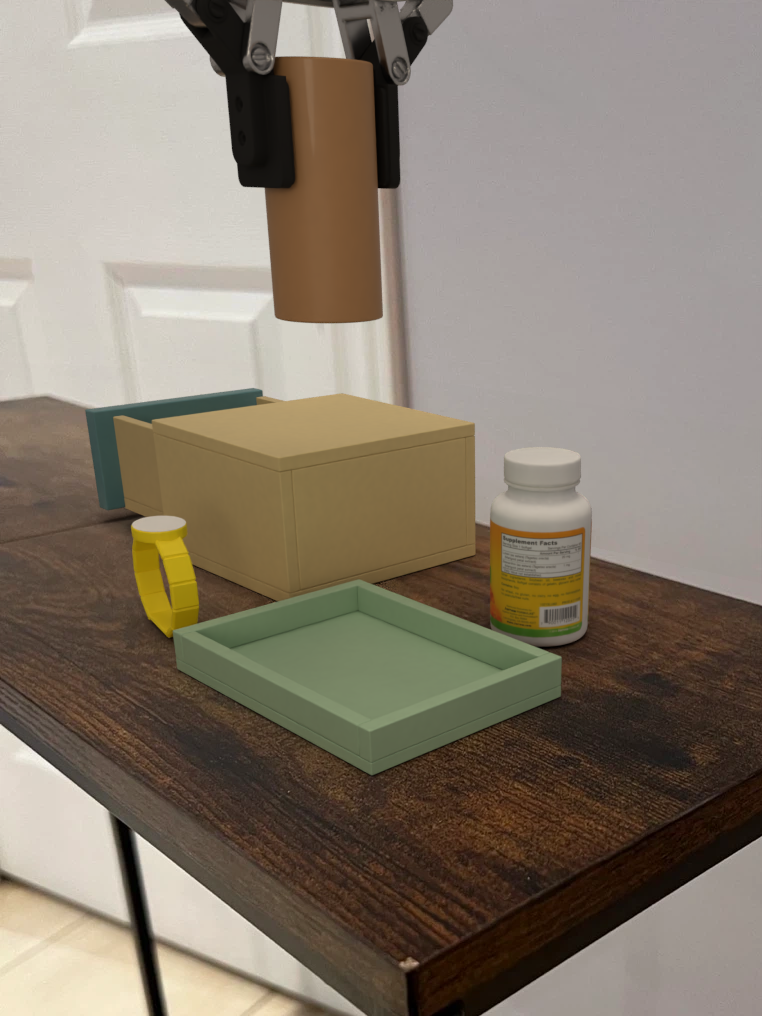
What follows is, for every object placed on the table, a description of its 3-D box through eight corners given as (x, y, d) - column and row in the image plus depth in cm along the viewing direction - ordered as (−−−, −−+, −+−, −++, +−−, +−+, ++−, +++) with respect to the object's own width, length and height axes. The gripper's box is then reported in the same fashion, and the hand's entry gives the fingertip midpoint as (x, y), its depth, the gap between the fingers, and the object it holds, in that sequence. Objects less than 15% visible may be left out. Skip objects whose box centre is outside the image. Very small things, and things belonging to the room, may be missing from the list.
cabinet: (167, 554, 74) (150, 419, 71) (348, 513, 84) (342, 393, 80) (290, 607, 66) (278, 457, 62) (475, 555, 75) (475, 422, 72)
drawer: (71, 496, 83) (56, 400, 80) (231, 467, 92) (223, 380, 89) (193, 546, 73) (181, 439, 70) (361, 509, 82) (356, 411, 79)
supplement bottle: (513, 608, 66) (515, 439, 62) (601, 622, 65) (609, 449, 60) (473, 639, 62) (472, 459, 58) (566, 655, 60) (572, 471, 56)
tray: (176, 669, 58) (171, 629, 57) (360, 613, 65) (359, 578, 64) (371, 776, 48) (369, 730, 47) (561, 696, 55) (562, 656, 55)
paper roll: (261, 322, 49) (239, 53, 45) (290, 310, 54) (272, 63, 49) (371, 324, 49) (359, 54, 45) (391, 312, 54) (382, 65, 49)
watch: (127, 617, 64) (112, 512, 61) (175, 607, 65) (162, 505, 63) (165, 651, 60) (151, 540, 57) (216, 640, 61) (204, 531, 59)
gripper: (402, -281, 49) (415, 186, 57) (8, -420, 38) (92, 185, 46) (527, -325, 45) (522, 190, 53) (120, -498, 33) (192, 189, 41)
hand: (321, 182), depth 49 cm, fingers closed on paper roll, 4 cm apart
